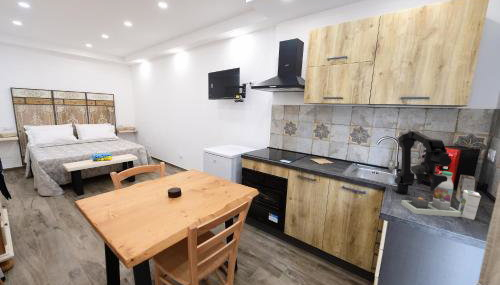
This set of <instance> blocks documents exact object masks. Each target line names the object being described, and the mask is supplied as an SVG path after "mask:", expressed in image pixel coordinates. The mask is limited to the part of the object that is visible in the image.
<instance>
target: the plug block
mask: <svg viewBox="0 0 500 285" xmlns="http://www.w3.org/2000/svg"><path fill="white" fill-rule="evenodd" d="M411 201H412V202H411V205H412V206H414V207H415V208H417V209H427V208H428V203H429V202H430V201H428V200H427V199H425V198H424V197H422V196H421V197H420V196H417V197H416V196H412V198H411Z"/></svg>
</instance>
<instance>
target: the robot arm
mask: <svg viewBox="0 0 500 285" xmlns="http://www.w3.org/2000/svg"><path fill="white" fill-rule="evenodd" d="M417 142H419V143H420V144H422V146H423V148H425V149H423V152H424V156H423V157H424V158H423V161H421V162H420V164H415V165H412V149H413V147H414V145H415V143H417ZM398 145H399V147H400V148H401V170H400V171H399V173H397V174H398V175H397V177H396V178H394V183H395V184H397V185H396V189H394V190H393V191H394V192H396V193H397V194H399V195H407V196H408V195H409V196H410V193H409V187H412V186H413V185H414V183H415V181H416V182H417V185H419V186H420V185H421V184H422V182H423V180H424V178H425V176H429V181H430V187H429V190H430V191H431V192H432V191H435V188H436V187H437V186H438V185H439V184H441V183H442V182H445V181H446V182H447V177H446V176H444V175H442V173H438V170H436V169H437V167H440V166H441V167H449V166H450V165H451V164H452V161H453V160H452V157H451V156H450V153H447V149H446V145H445V143H444V141H443V140H441V139H437V138H432V137H430V136H427V135H425V134H424V133H421V132H420V131H417V130H415V131H414V130H410V131H408V132H407V133H404V134H402V135H401V136H399V138H398ZM415 177H416V179H415Z"/></svg>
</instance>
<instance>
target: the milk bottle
mask: <svg viewBox="0 0 500 285" xmlns="http://www.w3.org/2000/svg"><path fill="white" fill-rule="evenodd" d="M441 174H442V175H444V176H446V177H447V182H446V181H445V182H442V183H441V184H439V185H438V186H437V187H436V188H435V189H434V190H433V191H434V192H433V197H432V200H433V199H444V200H445V201H447V202H449V203H451V200H452V196H453V192H454V183H453V180H452V177H453V176H454V173H453V172H452V171H451V172H450V171H447V170H443V171H442V172H441Z"/></svg>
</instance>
